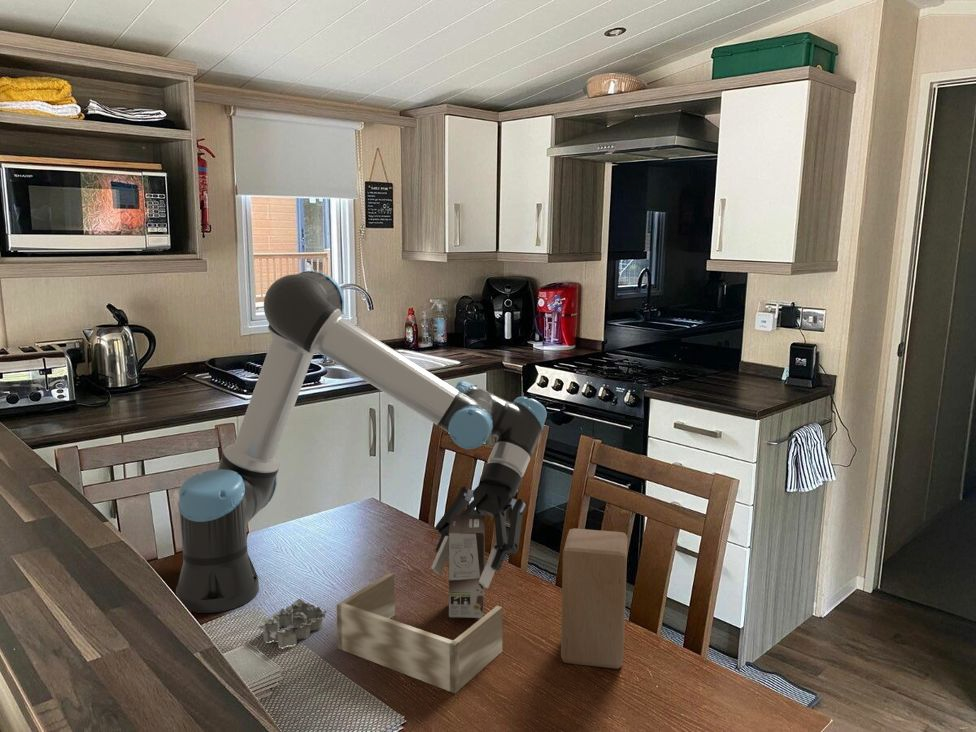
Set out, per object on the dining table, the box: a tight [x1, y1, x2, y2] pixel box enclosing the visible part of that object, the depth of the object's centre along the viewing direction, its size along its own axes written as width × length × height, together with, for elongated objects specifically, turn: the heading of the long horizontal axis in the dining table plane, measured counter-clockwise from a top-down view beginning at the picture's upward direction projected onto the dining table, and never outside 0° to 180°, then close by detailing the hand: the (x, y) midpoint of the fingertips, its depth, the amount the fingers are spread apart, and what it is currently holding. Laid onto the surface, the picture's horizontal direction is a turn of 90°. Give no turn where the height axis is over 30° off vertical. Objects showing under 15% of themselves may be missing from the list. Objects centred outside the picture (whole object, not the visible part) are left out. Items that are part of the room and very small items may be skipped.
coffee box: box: [448, 514, 486, 619], centre depth 139 cm, size 9×6×16 cm
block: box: [560, 528, 628, 670], centre depth 126 cm, size 10×10×20 cm
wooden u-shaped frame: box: [336, 572, 503, 694], centre depth 127 cm, size 24×14×8 cm, turn 58°
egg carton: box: [258, 598, 328, 647], centre depth 133 cm, size 11×8×4 cm
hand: (459, 578), depth 137 cm, fingers closed on coffee box, 10 cm apart
